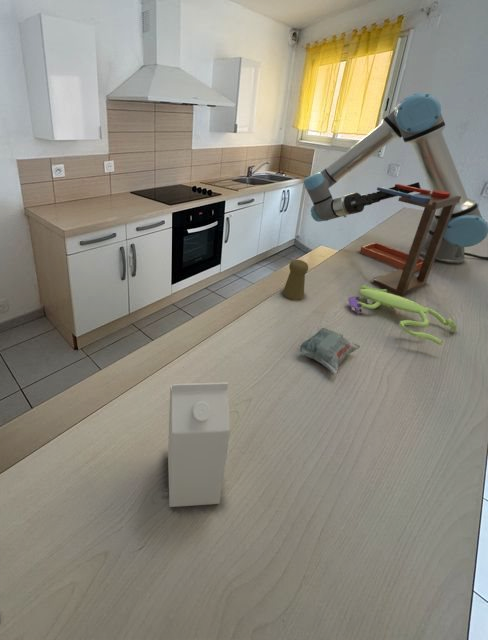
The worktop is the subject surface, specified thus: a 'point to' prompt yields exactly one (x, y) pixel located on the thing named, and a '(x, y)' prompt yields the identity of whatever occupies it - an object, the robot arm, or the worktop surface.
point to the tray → (388, 255)
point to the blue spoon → (407, 195)
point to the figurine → (401, 304)
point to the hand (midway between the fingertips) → (409, 188)
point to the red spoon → (426, 191)
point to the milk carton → (197, 443)
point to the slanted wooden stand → (420, 246)
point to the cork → (296, 280)
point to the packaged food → (328, 348)
